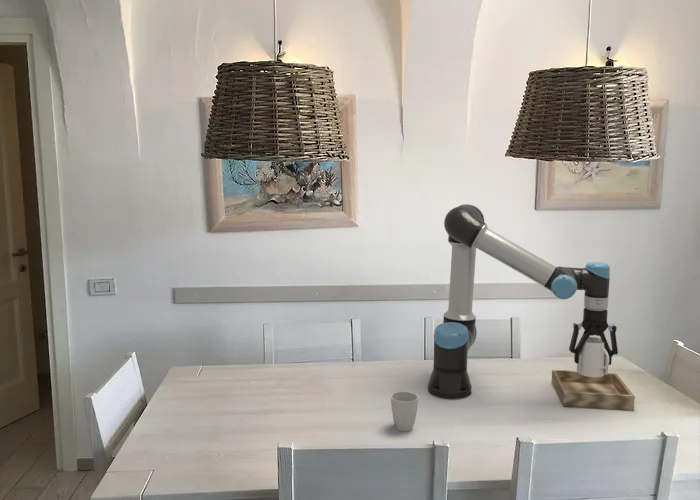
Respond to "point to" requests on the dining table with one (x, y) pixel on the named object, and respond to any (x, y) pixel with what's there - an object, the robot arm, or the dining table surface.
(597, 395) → the tray
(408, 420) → the cup
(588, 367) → the mug
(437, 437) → the dining table surface
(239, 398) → the dining table surface
